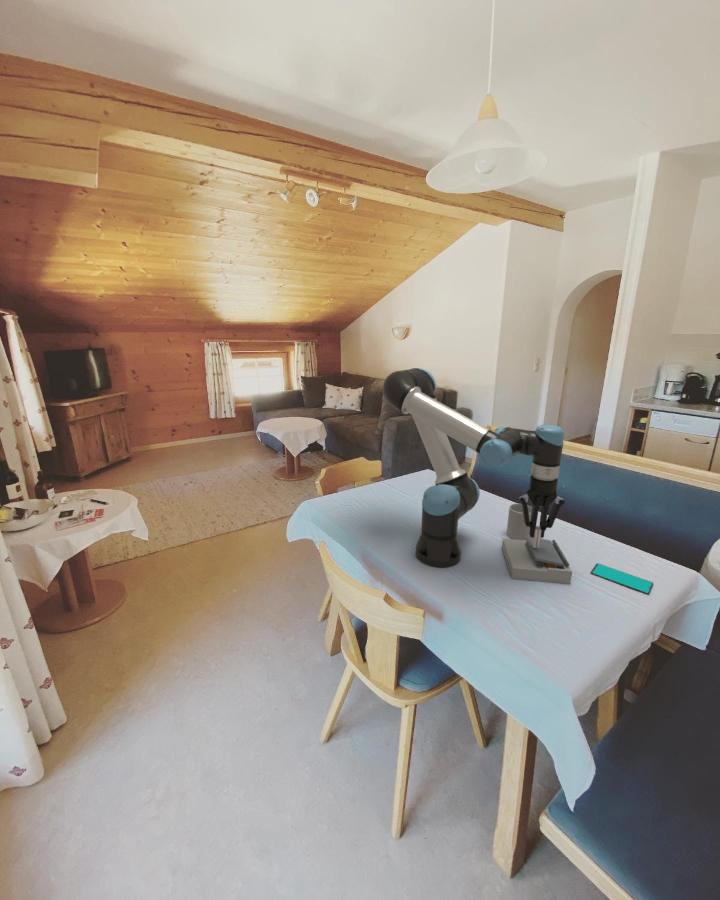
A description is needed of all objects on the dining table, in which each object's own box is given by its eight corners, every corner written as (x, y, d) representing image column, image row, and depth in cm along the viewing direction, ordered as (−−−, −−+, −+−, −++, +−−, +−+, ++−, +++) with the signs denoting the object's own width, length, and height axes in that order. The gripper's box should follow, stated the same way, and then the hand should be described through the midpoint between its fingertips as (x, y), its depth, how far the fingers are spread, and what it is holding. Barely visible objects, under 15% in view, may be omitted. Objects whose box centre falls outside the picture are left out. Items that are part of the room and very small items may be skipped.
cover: (535, 560, 118) (536, 556, 118) (524, 537, 132) (525, 533, 131) (568, 567, 117) (569, 563, 117) (554, 543, 130) (555, 540, 130)
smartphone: (597, 562, 126) (653, 582, 116) (596, 565, 126) (653, 585, 116) (590, 572, 121) (648, 594, 111) (589, 575, 121) (648, 596, 111)
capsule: (553, 576, 120) (544, 571, 120) (542, 555, 131) (534, 551, 131) (558, 569, 119) (550, 564, 119) (547, 548, 130) (539, 544, 130)
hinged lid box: (511, 578, 119) (513, 566, 118) (501, 547, 136) (502, 536, 135) (570, 583, 117) (572, 571, 115) (552, 551, 134) (554, 540, 132)
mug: (519, 543, 139) (523, 515, 136) (501, 533, 146) (504, 506, 143) (542, 535, 144) (546, 508, 141) (523, 525, 151) (527, 499, 148)
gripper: (523, 480, 115) (515, 550, 122) (572, 482, 113) (561, 554, 120) (518, 471, 122) (510, 538, 129) (563, 473, 120) (553, 541, 127)
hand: (535, 545), depth 124 cm, fingers closed
